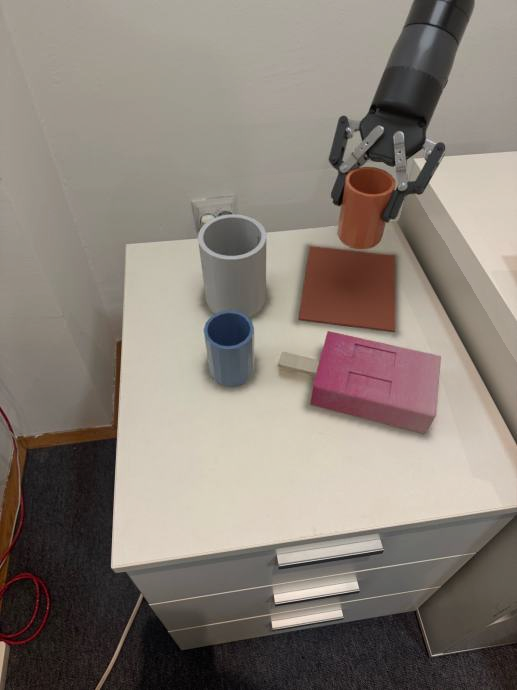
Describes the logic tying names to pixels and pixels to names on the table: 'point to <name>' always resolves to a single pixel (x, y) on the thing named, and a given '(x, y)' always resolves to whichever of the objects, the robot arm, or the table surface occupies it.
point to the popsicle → (372, 380)
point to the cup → (233, 263)
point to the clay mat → (349, 289)
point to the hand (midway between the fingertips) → (360, 212)
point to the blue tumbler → (230, 347)
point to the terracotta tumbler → (364, 207)
